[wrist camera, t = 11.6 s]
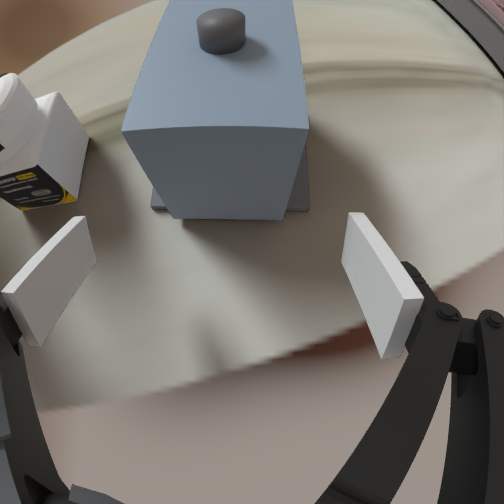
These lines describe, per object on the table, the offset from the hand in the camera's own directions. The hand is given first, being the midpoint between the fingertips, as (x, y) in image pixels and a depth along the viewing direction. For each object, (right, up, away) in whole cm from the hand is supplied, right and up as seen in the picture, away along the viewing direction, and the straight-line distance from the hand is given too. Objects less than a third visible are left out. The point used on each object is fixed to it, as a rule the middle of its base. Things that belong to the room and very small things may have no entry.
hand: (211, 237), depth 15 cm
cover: (0, +7, +9) cm, 12 cm away
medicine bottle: (-17, +7, +10) cm, 21 cm away
